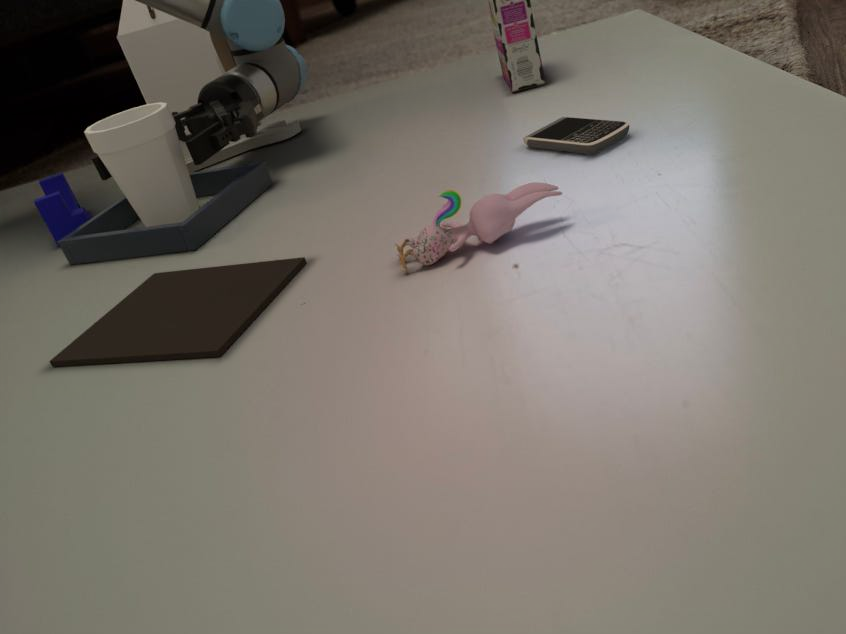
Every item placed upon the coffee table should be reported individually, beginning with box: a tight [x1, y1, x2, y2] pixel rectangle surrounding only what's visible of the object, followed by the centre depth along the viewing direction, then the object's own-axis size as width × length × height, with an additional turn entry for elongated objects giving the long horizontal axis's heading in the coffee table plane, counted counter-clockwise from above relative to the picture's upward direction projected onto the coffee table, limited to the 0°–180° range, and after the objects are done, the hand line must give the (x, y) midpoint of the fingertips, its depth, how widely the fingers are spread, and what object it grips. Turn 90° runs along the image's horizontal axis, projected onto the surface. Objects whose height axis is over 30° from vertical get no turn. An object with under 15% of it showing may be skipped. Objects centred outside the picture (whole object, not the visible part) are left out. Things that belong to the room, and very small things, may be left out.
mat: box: [49, 256, 307, 368], centre depth 77 cm, size 18×16×1 cm
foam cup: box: [83, 102, 200, 227], centre depth 98 cm, size 10×9×13 cm
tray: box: [58, 160, 274, 266], centre depth 100 cm, size 18×18×3 cm
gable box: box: [116, 0, 237, 136], centre depth 143 cm, size 22×13×28 cm, turn 9°
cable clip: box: [33, 171, 94, 248], centre depth 108 cm, size 12×4×6 cm, turn 23°
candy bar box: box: [486, 0, 546, 93], centre depth 113 cm, size 11×5×16 cm, turn 6°
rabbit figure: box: [394, 181, 563, 274], centre depth 72 cm, size 6×6×15 cm
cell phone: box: [522, 116, 630, 155], centre depth 90 cm, size 6×11×1 cm, turn 41°
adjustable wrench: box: [185, 119, 302, 173], centre depth 122 cm, size 25×6×2 cm, turn 114°
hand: (144, 161), depth 97 cm, fingers open, 13 cm apart
